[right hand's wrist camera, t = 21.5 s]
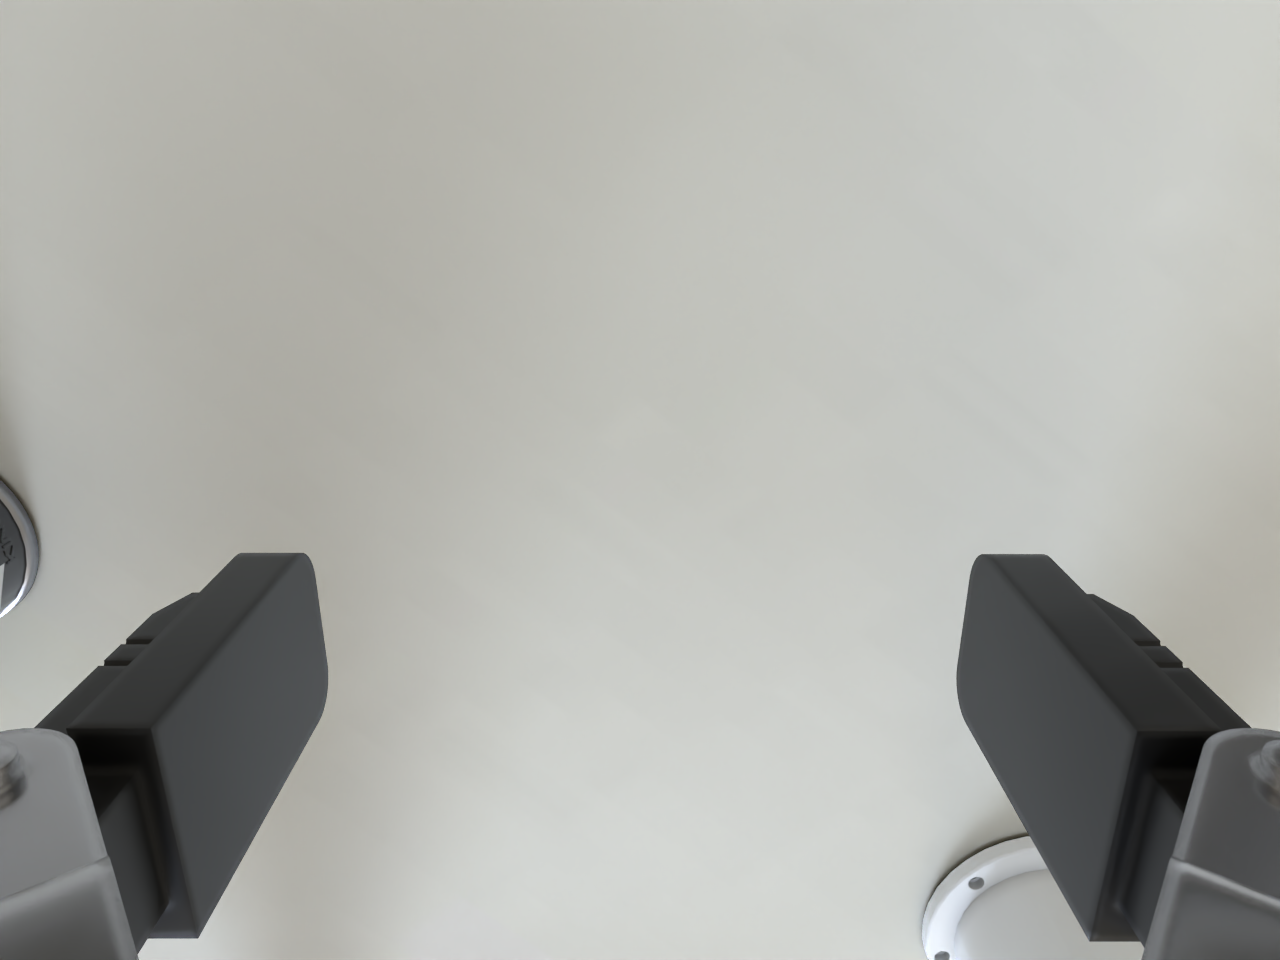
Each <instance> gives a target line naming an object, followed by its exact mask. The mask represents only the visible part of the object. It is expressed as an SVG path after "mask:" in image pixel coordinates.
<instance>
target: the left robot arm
mask: <svg viewBox="0 0 1280 960" xmlns="http://www.w3.org/2000/svg"><path fill="white" fill-rule="evenodd" d="M922 939H923V944H924V950H925V953H926V955H927V958H928V960H1141V959H1142V955H1143V952H1144V947H1143V945H1142V944H1141V942H1089V940H1088V938H1087V937H1086V935H1085V933H1084V931H1083V930H1082V928H1081V926H1080V924H1079V922H1078V921H1077V919H1076V917H1075V915H1074V914H1073V912H1072V910H1071V908H1070V906H1069V905H1068V903H1067V901H1066V899H1065V898H1064V896H1063V894H1062V892H1061V891H1060V889H1059V887H1058V885H1057V883H1056V882H1055V880H1054V878H1053V876H1052V875H1051V873H1050V871H1049V869H1048V868H1047V866H1046V864H1045V862H1044V860H1043V859H1042V857H1041V855H1040V853H1039V852H1038V850H1037V848H1036V846H1035V844H1034V843H1033V841H1032V839H1031V837H1030V836H1026V837H1022V838H1017V839H1013V840H1009V841H1005V842H1002V843H999V844H997V845H994V846H992V847H989V848H987V849H984V850H982V851H981V852H979V853H977V854H976V855H974V856H972V857H970V858H969V859H967V860H965V861H964V862H963V863H962V864H960V865H959V866H958V867H957V868H955V869H954V870H953V871H952V872H950V873H949V875H948V876H947V877H946V878H945V879H944V880H943V881H942V883H941V884H940V885H939V886H938V887H937V889H936V890H935V892H934V894H933V896H932V897H931V899H930V901H929V902H928V905H927V908H926V911H925V914H924V917H923V925H922Z"/></svg>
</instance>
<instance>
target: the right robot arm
mask: <svg viewBox="0 0 1280 960" xmlns="http://www.w3.org/2000/svg"><path fill="white" fill-rule="evenodd" d="M38 560H39V553H38V544H37V538H36V535H35V531H34V528H33V526H32V523H31V521H30V519H29V517H28V515H27V513H26V511H25V509H24V508H23V506H22V504H21V503H20V502H19V500H18V499H17V497H16V496H15V495H14V494H13V493H12V491H11V490H10V489H9V488H8V487H7V486H6V485H5V484H4V483H3V482H2V481H1V480H0V617H2V616H3V615H4V614H6V613H7V612H9V611H10V610H11V609H13V608H14V607H15V606H17V605H18V604H19V603H20V602H21V601H22V600H23V599H24V597H25V596H26V595H27V594H28V592H29V590H30V589H31V587H32V585H33V582H34V580H35V577H36V574H37V569H38ZM1182 663H1183V662H1182V661H1181V660H1180V659H1178V658H1177V657H1176V656H1175V655H1174V654H1173V653H1172V652H1171V651H1170V650H1169V649H1168V648H1167V647H1166V646H1161V645H1160V640H1159V639H1157V638H1156V637H1155V636H1154V635H1153V634H1152V633H1151V632H1150V631H1149V630H1148V629H1147V628H1146V627H1145V626H1144V625H1143V624H1142V623H1141V622H1140V621H1139V620H1138V619H1136V618H1135V617H1134V616H1133V615H1131V614H1129V613H1127V612H1126V611H1124V610H1122V609H1120V608H1118V607H1116V606H1114V605H1113V604H1111V603H1109V602H1107V601H1105V600H1103V599H1101V598H1099V597H1098V596H1096V595H1094V594H1086V593H1085V592H1084V591H1083V590H1082V589H1081V588H1080V587H1079V586H1078V585H1077V584H1076V583H1075V582H1074V581H1073V580H1072V579H1071V578H1070V577H1069V576H1068V575H1067V574H1066V573H1065V572H1064V571H1063V570H1062V569H1061V568H1060V567H1059V566H1058V565H1057V564H1056V563H1055V562H1054V561H1053V560H1052V559H1051V558H1050V557H1049V556H1047V555H1045V554H981V555H979V556H978V557H977V558H976V560H975V562H974V564H973V566H972V570H971V574H970V580H969V587H968V594H967V601H966V608H965V615H964V622H963V629H962V637H961V644H960V651H959V658H958V665H957V693H958V700H959V705H960V709H961V712H962V715H963V718H964V720H965V722H966V724H967V726H968V728H969V729H970V731H971V733H972V735H973V736H974V738H975V740H976V742H977V744H978V745H979V747H980V749H981V751H982V752H983V754H984V756H985V758H986V759H987V761H988V763H989V765H990V767H991V768H992V770H993V772H994V774H995V775H996V777H997V779H998V781H999V782H1000V784H1001V786H1002V788H1003V790H1004V791H1005V793H1006V795H1007V797H1008V798H1009V800H1010V802H1011V804H1012V806H1013V807H1014V809H1015V811H1016V813H1017V814H1018V816H1019V818H1020V820H1021V821H1022V823H1023V825H1024V827H1025V829H1026V830H1027V832H1028V834H1029V836H1030V837H1031V839H1032V841H1033V843H1034V844H1035V846H1036V848H1037V850H1038V852H1039V853H1040V855H1041V857H1042V859H1043V860H1044V862H1045V864H1046V866H1047V868H1048V869H1049V871H1050V873H1051V875H1052V876H1053V878H1054V880H1055V882H1056V883H1057V885H1058V887H1059V889H1060V891H1061V892H1062V894H1063V896H1064V898H1065V899H1066V901H1067V903H1068V905H1069V906H1070V908H1071V910H1072V912H1073V914H1074V915H1075V917H1076V919H1077V921H1078V922H1079V924H1080V926H1081V928H1082V930H1083V931H1084V933H1085V935H1086V937H1087V938H1088V940H1089V942H1141V944H1142V945H1143V947H1144V952H1143V955H1142V959H1141V960H1280V732H1278V731H1273V730H1265V729H1257V728H1251V727H1250V726H1249V725H1248V724H1247V723H1246V722H1245V721H1244V720H1242V719H1241V718H1240V717H1239V716H1238V715H1237V714H1236V713H1235V712H1234V711H1233V710H1232V709H1231V708H1230V707H1229V706H1228V705H1227V704H1226V703H1225V702H1224V701H1223V700H1221V699H1220V698H1219V697H1218V696H1217V695H1216V694H1215V693H1214V692H1213V691H1212V690H1211V689H1210V688H1209V687H1208V686H1207V685H1206V684H1205V683H1204V682H1203V681H1202V680H1200V679H1199V678H1198V677H1197V676H1196V675H1195V674H1194V673H1193V672H1192V671H1191V670H1190V669H1189V668H1183V665H1182ZM327 690H328V665H327V658H326V650H325V643H324V636H323V629H322V622H321V614H320V607H319V600H318V593H317V586H316V578H315V572H314V568H313V565H312V562H311V560H310V558H309V557H308V556H307V555H306V554H304V553H240V554H238V555H237V556H235V557H234V558H233V559H232V560H231V561H230V562H229V563H228V564H227V565H226V566H225V567H224V568H223V569H222V570H221V571H220V572H219V573H218V574H217V575H216V576H215V577H214V578H213V579H212V581H211V582H210V583H209V584H208V585H207V586H206V587H205V588H204V589H203V590H202V591H201V592H200V593H191V594H189V595H187V596H185V597H184V598H182V599H180V600H178V601H176V602H174V603H172V604H171V605H169V606H167V607H165V608H163V609H161V610H159V611H157V612H156V613H154V614H152V615H151V616H150V617H149V618H148V619H147V620H146V621H145V622H144V623H143V624H142V625H141V626H140V627H139V628H138V629H137V630H136V631H134V632H133V633H132V634H131V635H130V636H129V637H128V638H127V639H126V644H121V645H120V646H119V647H118V648H117V649H116V650H115V651H114V652H113V653H112V654H111V655H110V656H108V657H107V658H106V659H105V660H104V666H98V667H97V668H96V669H95V670H94V671H93V672H92V673H91V674H90V675H89V676H88V677H87V678H86V679H85V680H83V681H82V682H81V683H80V684H79V685H78V686H77V687H76V688H75V689H74V690H73V691H72V692H71V693H70V694H69V695H68V696H67V697H66V698H65V699H64V700H63V701H62V702H61V703H60V704H59V705H57V706H56V707H55V708H54V709H53V710H52V711H51V712H50V713H49V714H48V715H47V716H46V717H45V718H44V719H43V720H42V721H41V722H40V723H39V724H38V725H37V726H36V727H35V728H23V729H15V730H7V731H2V732H0V960H139V959H138V955H137V954H138V953H139V951H140V950H141V948H142V946H143V945H144V943H145V942H146V940H147V938H198V937H199V936H200V934H201V932H202V930H203V928H204V927H205V925H206V923H207V921H208V919H209V918H210V916H211V914H212V912H213V910H214V909H215V907H216V905H217V903H218V902H219V900H220V898H221V896H222V894H223V893H224V891H225V889H226V887H227V885H228V884H229V882H230V880H231V878H232V876H233V875H234V873H235V871H236V869H237V867H238V866H239V864H240V862H241V860H242V858H243V857H244V855H245V853H246V851H247V849H248V848H249V846H250V844H251V842H252V841H253V839H254V837H255V835H256V833H257V832H258V830H259V828H260V826H261V824H262V823H263V821H264V819H265V817H266V815H267V814H268V812H269V810H270V808H271V806H272V805H273V803H274V801H275V799H276V797H277V796H278V794H279V792H280V790H281V789H282V787H283V785H284V783H285V781H286V780H287V778H288V776H289V774H290V772H291V771H292V769H293V767H294V765H295V763H296V762H297V760H298V758H299V756H300V754H301V753H302V751H303V749H304V747H305V745H306V744H307V742H308V740H309V738H310V737H311V735H312V733H313V731H314V729H315V728H316V726H317V724H318V722H319V720H320V718H321V716H322V713H323V710H324V707H325V702H326V697H327Z"/></svg>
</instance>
